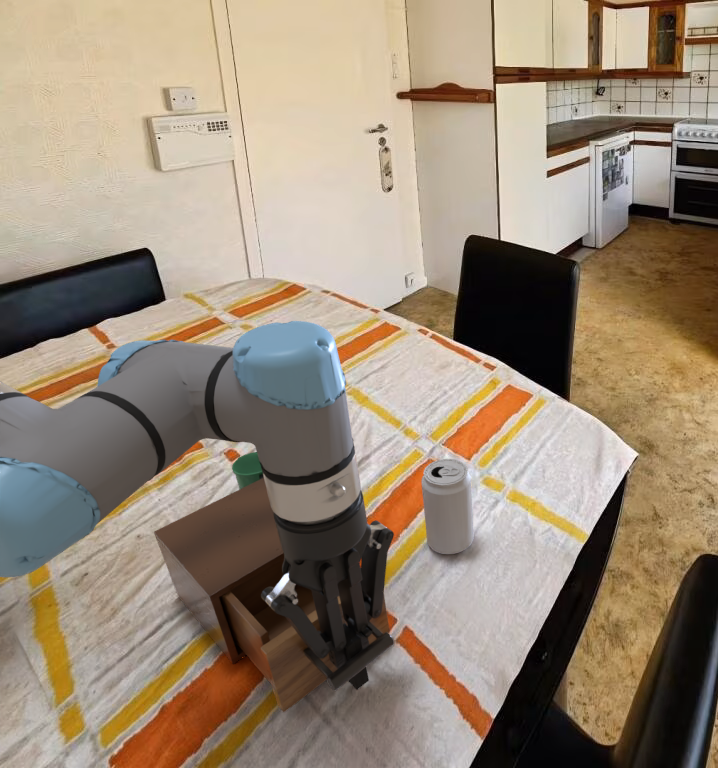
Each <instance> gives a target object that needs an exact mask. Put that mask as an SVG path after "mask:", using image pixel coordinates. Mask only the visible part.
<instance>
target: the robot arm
mask: <svg viewBox="0 0 718 768" xmlns="http://www.w3.org/2000/svg"><path fill="white" fill-rule="evenodd" d="M337 347H338V346H337V343H336V340H335V338H334V337H333V335H332V334H331V332H330V331H329V330H328V329H326V328H325V327H323V326H322V325H319V324H318V323H314V322H310V321H302V320H291V321H288V322H270V323H267V324H263V325H260V326H257V327H255V328H253V329H250V330H248V331H246V332H245V333H243V334H242V335H240V336H239V338H238V339H237V340H236V341H235V343H234V344H233V347H231V346H230V347H229V346H221V345H211V344H204V343H194V342H186V341H183V340H176V339H169V340H166V339H158V340H144V339H143V340H141V339H140V340H134V341H129V342H127V343H125V344H123V345H120V346H119V347H118V348H116V349H115V350H113V352H112V353H110V358H109V359H108V360H107V362H106V363H105V364H104V365H102V367H101V369H100V371H99V374H98V377H97V386H96V387H95V388H92V389H91V390H89V391H87V392H86V393H84V394H82V395H80V396H78V397H77V398H74V399H73V400H72V401H70V402H68V403H66V404H64V405H62V406H60V407H58V408H52V407H50V406H48V405H47V404H45V403H43V402H41V401H38V400H36V399H34V398H32V397H31V396H29V395H27V394H25V393H23V392H22V391H19V390H17V389H16V388H14V387H12V386H10V385H8V384H6V383H4V382H3V381H1V380H0V578H17V577H21V576H22V577H23V576H25V575H28V574H31V573H33V572H35V571H37V570H38V569H40V568H41V567H42V566H44V565H46V564H47V563H49V562H50V561H52V560H53V559H55V558H56V557H58V556H59V555H60V554H62V553H63V552H65V551H66V550H68V549H69V548H70V547H72V546H73V545H75V544H76V543H78V542H79V541H81V540H83V539H84V538H85V537H87V536H88V535H90V534H91V533H92V532H93V531H94V530H95V528H96V526H97V525H98V524H99V523H100V522H101V521H102V520H104V519H105V518H106V517H107V516H108V515H109V514H111V513H112V512H113V511H114V510H116V509H117V508H118V507H119V506H120V505H121V504H122V503H124V502H125V501H126V500H128V498H129V497H131V496H132V495H133V494H134V493H136V492H137V491H138V490H139V489H140V488H142V487H143V486H144V485H145V484H146V483H148V482H150V481H152V480H153V479H154V478H155V477H156V476H158V475H159V474H161V473H162V472H163V471H164V470H166V469H167V468H168V467H170V465H172V464H173V463H175V462H176V461H177V460H178V459H179V458H180V457H182V455H184V454H185V453H187V451H189V450H190V449H191V448H192V447H194V446H195V445H196V444H197V443H198V442H200V441H201V440H206V439H208V440H218V441H224V442H225V441H226V442H231V443H248V444H251V445H253V446H254V447H255V452H257V454H258V458H259V461H260V464H261V468H262V472H263V476H264V480H265V484H266V488H267V493H268V497H269V501H270V505H271V508H272V510H273V512H274V520H275V524H276V528H277V531H278V535H279V539H280V543H281V547H282V550H283V552H284V562H283V565H282V572H283V574H284V576H283V577H282V578H281V580H280V581H279V582H278V584H277V585H276V586H275V588H274V587H267V588H265V589H264V590H263V591H262V593H261V598H262V599H263V600H264V601H265V602H266V603H267V604H268V605H269V606H270V607H271V608H272V609H273V610H274V611H275V612H276V613H277V614H280V615H282V616H285V617H286V618H287V620H288V621H289V622H290V624H291V625H292V627H293V628H294V629H295V631H296V632H297V633H298V635H299V636H300V637H301V639H302V640H303V641H304V643H305V644H306V645H307V646H308V647H309V648H310V649H311V650H312V651H313V652H314V653H315V654H316V655H317V656H318V657H319V658H320V659H322V658H324V657H326V656H327V655H328V654H329V658H330V661H331V662H332V663H333V664H334V665H335V666H336V667H337V668H339V667H341V666H342V665H343V664H345V663H346V662H347V661H349V660H350V659H351V658H352V657H354V656H355V655H356V654H358V653H359V652H360V651H362V650H363V649H364V648H366V647H367V646H368V645H369V641H368V640H369V639H368V637H369V636H370V635H371V634H372V632H373V629H372V628H371V627H370V626H369V625H368V622H369V621H370V620H371V619H372V618H374V619H375V618H377V617H379V616H380V615H381V613H382V606H383V595H384V596H385V594H384V593H385V583H386V574H387V572H386V571H387V562H388V552H389V550H390V547H391V544H392V543H393V542H392V541H393V539H394V536H395V532H394V531H392V530H391V529H390V528H389V527H387V526H385V525H384V524H383V523H381V521H379V520H377V519H376V520H372V521H371V523H370V524H369V523H368V517H367V511H366V506H365V499H364V494H363V491H362V485H361V478H360V472H359V466H358V461H357V454H356V448H355V444H354V438H353V433H352V426H351V420H350V419H351V418H350V412H349V405H348V399H347V389H346V386H347V380H346V379H347V378H346V375H345V372H344V370H343V367H342V364H341V360H340V356H339V352H338V348H337ZM360 567H361V568H360ZM296 584H297V585H299V586H302V587H305V588H307V589H310V590H311V591H312V595H313V599H314V604H315V608H316V612H317V617H318V621H319V625H320V631H317V630H316V628H315V627H314V625H313V624H312V622H311V621H310V620H309V618H308V617H307V615H306V614H305V612H304V611H303V610H302V609H301V608H300V607H299V606H298V605H297V603H298V599H297V593H296V591H295V585H296ZM338 596H339V597H340V602H341V606H342V611H343V616H344V620H345V621H346V622H347V624H348V626H347V625H346V624H345V623H344V624H343V622H342V617H341V612H340V608H339V603H338V598H337V597H338ZM347 682H348V683H349V684H350V685H351V686H352V687H354V688H353V689H355V690H356V691H358V690H359V689H361V688H362V687H363V686H364V685H365V684H367V683H368V682H370V679H369V674H368V668H367V666H366V667H365V668H364V669H362V670H361V671H360V672H359V673H357V674H356V675H355V676H354V677H352V678H351V679H350V680H349V681H347Z"/></svg>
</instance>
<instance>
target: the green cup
mask: <svg viewBox="0 0 718 768" xmlns="http://www.w3.org/2000/svg"><path fill="white" fill-rule="evenodd" d="M231 471H232V473H233V475H235V479H236V482H237V486H238V490H240V489H242V488H244V487H246V486H248V485H250V484H252V483H254V482H256V481H258V480H260V479H262V478H264V476H263V472H262V468H261V464H260V461H259V458H258V454H257V451H252V452H249V453H246V454H243V455H241V456H239V457H237V459H236V460H235V461H233V463H232V466H231Z"/></svg>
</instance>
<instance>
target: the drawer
mask: <svg viewBox="0 0 718 768" xmlns="http://www.w3.org/2000/svg"><path fill="white" fill-rule="evenodd" d="M283 562H284V559H282V560H281V561H279V562H277V563H275V564H274V565H272V566H270V567H269V568H267V569H265V570H264V571H262V572H260V573H259V574H257V575H255V576H254V577H252V578H250V579H249V580H247V581H245V582H244V583H242V584H240V585H239V586H237V587H235V588H233V589H232V590H230V591H228V592H227V593H225V594H223V595H222V596H220V597H219V599H220V602H221V605H222V608H223V611H224V614H225V617H226V620H227V623H228V626H229V629H230V632H231V635H232V638H233V640H234V641H235V642H236V643H237V644H238V646H239V647H240V648H241V649H242V650H243V652H244V653H245V654H246V655H247V656H246V657H247V658H248V659H249V660H250V661H251V662H252V663H253V665H254V666H255V667H256V668H257V669H258V671H259V672H260V673H261V674H262V675H263V677H264V678H265V679H266V680H267V681H268V682H269V683H270V685H271V688H272V691H273V695H274V697H275V701H276V704H277V707H278V708H279V709H280V710H281V711H282V713H286V712H287V711H288V710H290V709H291V708H292V707H293V706H294V705H296V704H297V703H298V702H300V701H301V700H302V699H304V698H305V697H306V696H308V695H309V694H310V693H311V692H313V691H314V690H316V688H318V687H319V686H320V685H322V684H323V683H324V682H326V683H327V684H328V686H329V688H330V689H331V690H332V691H334V692H336V691H337V690H339V689H340V688H341V687H343V686H344V685H345V684H346V683H347V682H348V681H349V680H350V679H351V678H352V677H354V676H355V675H356V674H357V673H359V672H360V671H361V670H362V669H364V668H365V667H366V668H367V667H368V666H369V665H370V664H372V663H373V662H374V661H375V660H377V659H378V658H379V657H380V656H382V655H383V654H384V653H385V652H387V651H388V650H389V649H390V648H392V647H393V646H394V645H395V641H394V638H393V637H392V635H391V634H390V633H389V632H391V631H390V625H389V617H388V611H387V604H386V599H385V594H384V595H383V606H382V613H381V615H380V616H379V617H377V618H375V619H374V618H372V619H371V620H370V621H369V622H368V625H369V626H370V627H371V628H372V629H373V632H372V634H371V635H370V636H369V637H368V639H369V640H368V641H369V645H368V646H367V647H366V648H364V649H363V650H362V651H360V652H359V653H358V654H356V655H355V656H354V657H352V658H351V659H350V660H349V661H347V662H346V663H345V664H343V665H342V666H341V667H339V668H337V667H336V666H335V665H334V664H333V663H332V662H331V661H330V658H329V654H328V655H327V656H326V657H324V658H322V659H320V658H319V657H318V656H317V655H316V654H315V653H314V652H313V651H312V650H311V649H310V648H309V647H308V646H307V645H306V644H305V643H304V641H303V640H302V639H301V637H300V636H299V635H298V633H297V632H296V631H295V629H294V628H293V627H292V625H291V624H290V622H289V621H288V620H287V618H286V617H285V616H282V615H280V614H277V613H276V612H275V611H274V610H273V609H272V608H271V607H270V606H269V605H268V604H267V603H266V602H265V601H264V600H263V599H262V598H261V593H262V591H263V590H264V589H265V588H267V587H274V588H275V586H276V585H277V584H278V582H279V581H280V580H281V578H282V577H283V576H284V574H283V572H282V565H283ZM360 568H361V566H360ZM295 591H296V593H297V599H298V603H297V605H298V606H299V607H300V608H301V609H302V610H303V611H304V612H305V614H306V615H307V617H308V618H309V620H310V621H311V622H312V624H313V625H314V627H315V628H316V630H317V631H320V625H319V621H318V617H317V612H316V608H315V604H314V599H313V595H312V591H311V590H310V589H307V588H305V587H302V586H299V585H297V584H296V585H295ZM337 598H338V603H339V608H340V612H341V617H342V622H343V624H344V623H345V624H346V625H347V626H348V624H347V622H346V621H345V620H344V616H343V611H342V606H341V602H340V597H339V596H338V597H337Z"/></svg>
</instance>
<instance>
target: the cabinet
mask: <svg viewBox="0 0 718 768" xmlns="http://www.w3.org/2000/svg"><path fill="white" fill-rule="evenodd" d="M153 535H154V536H155V539H156V542H157V544H158V548H159V550H160V552H161V556H162V557H163V560H164V563H165V566H166V568H167V570H168V571H167V572H168V573H169V576H170V578H171V581H172V585H173V587H174V589H175V592H176V595H177V597H178V598H179V600H180V601H181V602H182V603H183V605H184V606H185V607H186V608H187V610H188V611H189V612H190V613H191V615H192V616H193V617H194V619H196V621H197V622H198V623H199V624H200V626H201V627H202V628H203V629H204V630H205V632H206V633H207V634H208V636H209V637H210V638H211V639H212V640H213V642H214V643H215V645H216V646H217V647H218V648H219V649H220V650H221V652H222V653H223V654H224V655H225V656H226V658H227V657H228V658H227V660H229V662H230V663H231V662H232V663H231V664H232V665H235V664H236V663H237V662H236V661H238V660H239V661H241V660H242V659H243V658H242V657H244V656H245V655H246V654H245V653H244V652H243V650H242V649H241V648H240V647H239V646H238V644H237V643H236V642H235V641H234V640H233V638H232V635H231V632H230V629H229V626H228V623H227V620H226V617H225V614H224V611H223V608H222V605H221V602H220V599H219V597H220V596H222V595H223V594H225V593H227V592H228V591H230V590H232V589H233V588H235V587H237V586H239V585H240V584H242V583H244V582H245V581H247V580H249V579H250V578H252V577H254V576H255V575H257V574H259V573H260V572H262V571H264V570H265V569H267V568H269V567H270V566H272V565H274V564H275V563H277V562H279V561H281V560H282V559H284V552H283V550H282V547H281V543H280V539H279V535H278V531H277V528H276V524H275V520H274V512H273V510H272V508H271V505H270V501H269V497H268V493H267V488H266V484H265V480H264V478H262V479H260V480H258V481H256V482H254V483H252V484H250V485H248V486H246V487H244V488H242V489H240V490H239V489H238V490H235V491H234V492H231V493H230V494H227V495H226V496H223V497H222V498H220V499H217V500H216V501H213V502H212V503H210V504H207V505H205V506H203V507H201V508H199V509H197V510H195V511H193V512H191V513H189V514H186V515H185V516H183V517H181V518H179V519H177V520H175V521H173V522H171V523H168V524H166V525H165V526H163V527H160V528H158V529H157V530H154V531H153ZM245 657H246V656H245ZM245 657H244V658H245ZM241 658H242V659H241ZM240 659H241V660H240ZM239 661H238V662H239ZM235 662H236V663H235ZM234 663H235V664H234Z"/></svg>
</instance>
